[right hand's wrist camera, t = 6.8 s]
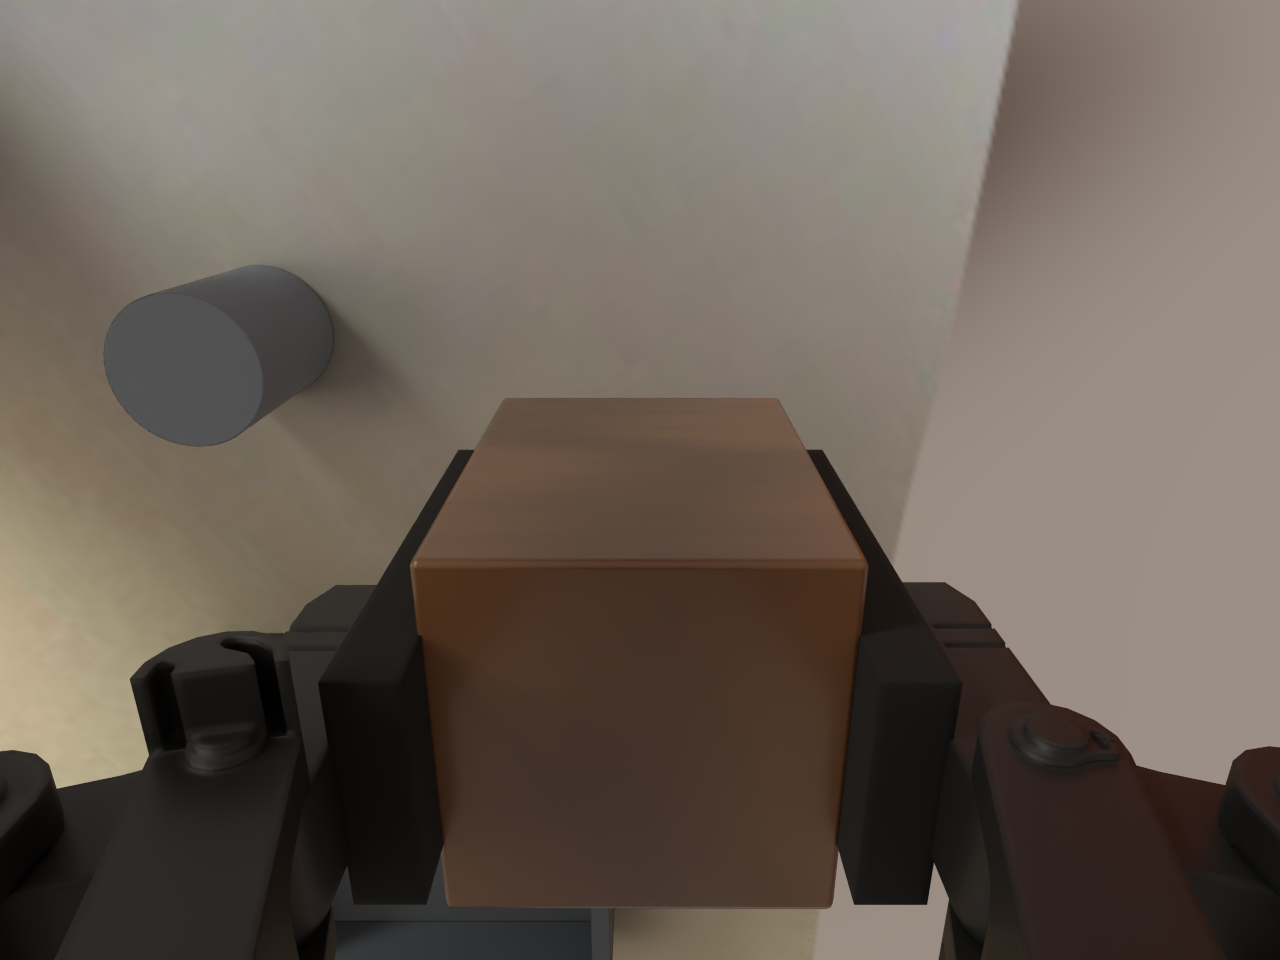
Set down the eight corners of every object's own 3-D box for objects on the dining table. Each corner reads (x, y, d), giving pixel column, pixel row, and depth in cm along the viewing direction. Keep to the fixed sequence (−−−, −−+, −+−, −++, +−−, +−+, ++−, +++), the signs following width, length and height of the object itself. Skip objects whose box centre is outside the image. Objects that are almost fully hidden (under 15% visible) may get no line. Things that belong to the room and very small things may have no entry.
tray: (221, 633, 34) (159, 705, 30) (609, 633, 34) (605, 705, 30) (309, 1062, 43) (271, 1166, 39) (615, 1062, 43) (612, 1166, 39)
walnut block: (517, 636, 15) (444, 911, 10) (502, 396, 14) (406, 561, 8) (764, 637, 15) (834, 912, 10) (779, 396, 14) (871, 561, 8)
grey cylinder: (216, 393, 31) (122, 447, 25) (192, 264, 29) (85, 292, 23) (341, 392, 31) (275, 447, 25) (324, 264, 29) (249, 292, 23)
